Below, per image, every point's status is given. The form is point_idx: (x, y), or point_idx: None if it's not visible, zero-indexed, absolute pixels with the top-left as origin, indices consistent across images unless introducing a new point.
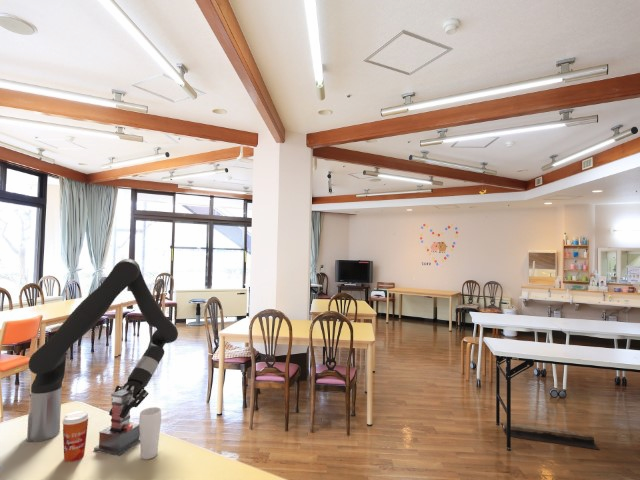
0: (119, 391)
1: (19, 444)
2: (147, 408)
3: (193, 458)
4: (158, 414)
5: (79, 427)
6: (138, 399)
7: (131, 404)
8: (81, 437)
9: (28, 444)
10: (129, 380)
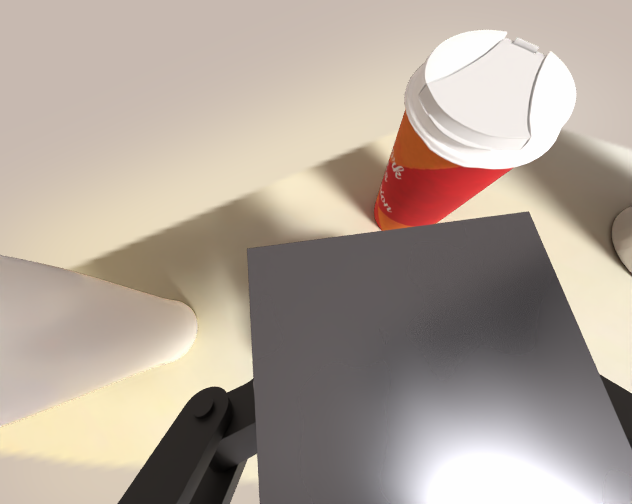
0: (546, 406)
1: None
2: None
3: None
4: None
5: (402, 120)
6: (128, 500)
7: (241, 398)
8: (388, 171)
9: (618, 193)
10: None
